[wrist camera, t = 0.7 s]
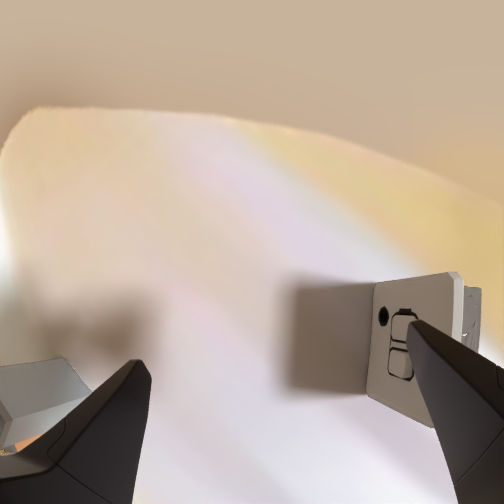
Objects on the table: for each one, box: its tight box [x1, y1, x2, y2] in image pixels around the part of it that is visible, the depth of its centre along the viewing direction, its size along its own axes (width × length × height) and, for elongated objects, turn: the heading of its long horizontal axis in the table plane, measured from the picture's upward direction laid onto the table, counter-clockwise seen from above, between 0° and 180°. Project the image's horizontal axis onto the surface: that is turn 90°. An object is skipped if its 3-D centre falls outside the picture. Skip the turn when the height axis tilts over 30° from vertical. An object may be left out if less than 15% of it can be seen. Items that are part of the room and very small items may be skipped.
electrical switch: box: [366, 272, 481, 428], centre depth 18 cm, size 9×5×9 cm, turn 176°
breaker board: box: [2, 433, 44, 455], centre depth 22 cm, size 18×15×4 cm
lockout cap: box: [0, 358, 92, 450], centre depth 19 cm, size 5×5×12 cm
